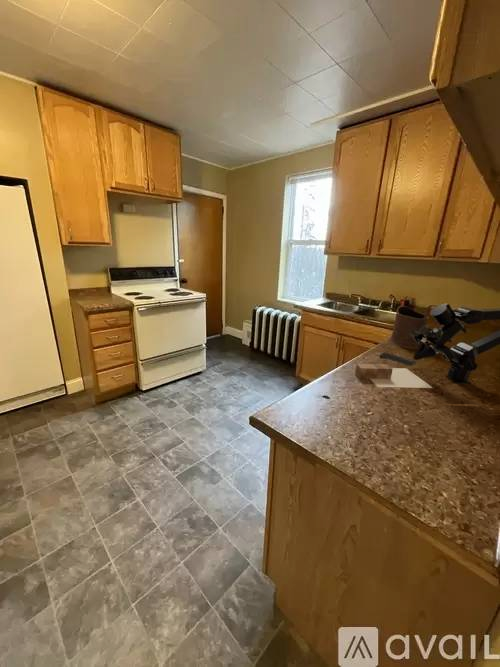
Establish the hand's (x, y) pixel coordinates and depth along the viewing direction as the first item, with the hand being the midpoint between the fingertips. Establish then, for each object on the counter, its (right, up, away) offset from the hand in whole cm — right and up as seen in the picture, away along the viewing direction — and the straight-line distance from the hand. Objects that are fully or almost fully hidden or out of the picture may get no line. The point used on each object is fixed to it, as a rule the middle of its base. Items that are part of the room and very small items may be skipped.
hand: (414, 359), depth 114 cm
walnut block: (-9, -5, +2) cm, 11 cm away
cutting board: (-7, -8, +3) cm, 11 cm away
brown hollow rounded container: (+25, +4, +46) cm, 52 cm away
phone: (+5, -3, +23) cm, 23 cm away
